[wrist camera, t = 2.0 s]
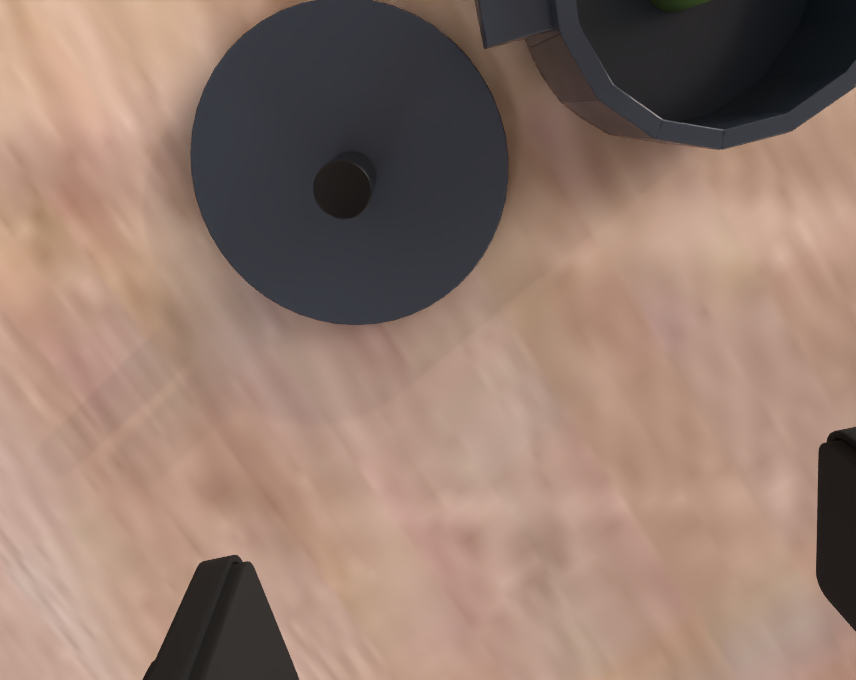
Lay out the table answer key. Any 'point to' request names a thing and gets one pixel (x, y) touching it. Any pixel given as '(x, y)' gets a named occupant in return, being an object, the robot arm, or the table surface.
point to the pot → (686, 63)
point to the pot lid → (349, 161)
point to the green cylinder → (677, 4)
